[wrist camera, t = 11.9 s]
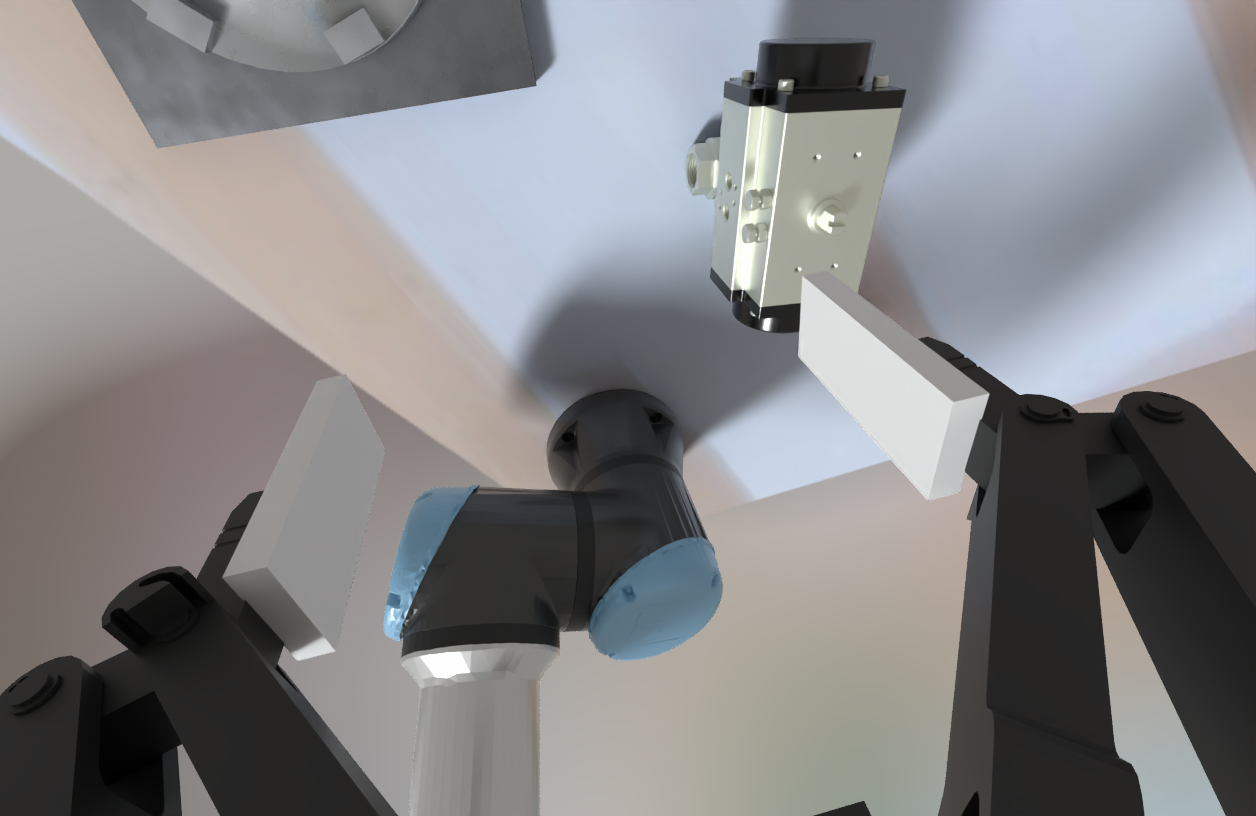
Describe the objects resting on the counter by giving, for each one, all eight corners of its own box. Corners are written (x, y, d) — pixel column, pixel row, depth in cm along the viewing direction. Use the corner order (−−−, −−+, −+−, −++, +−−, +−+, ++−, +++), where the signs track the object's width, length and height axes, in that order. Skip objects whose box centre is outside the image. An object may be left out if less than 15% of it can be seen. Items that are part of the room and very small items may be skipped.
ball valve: (685, 35, 42) (784, 48, 28) (792, 33, 43) (939, 43, 29) (677, 266, 52) (745, 362, 38) (762, 259, 54) (860, 348, 39)
